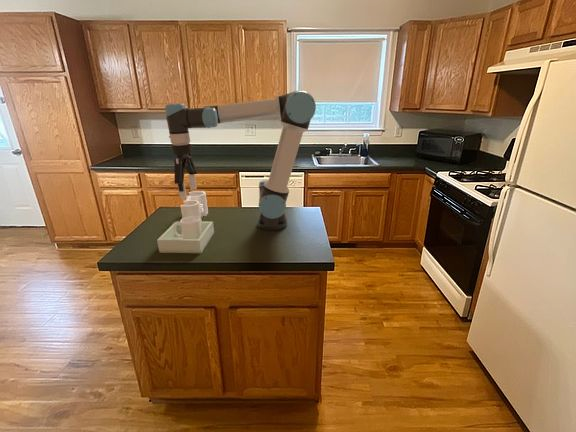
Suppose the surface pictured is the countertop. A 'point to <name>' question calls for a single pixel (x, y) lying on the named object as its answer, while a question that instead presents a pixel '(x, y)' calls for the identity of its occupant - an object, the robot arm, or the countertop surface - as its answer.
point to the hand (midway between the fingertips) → (188, 193)
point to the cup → (189, 228)
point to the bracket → (195, 205)
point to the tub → (185, 240)
